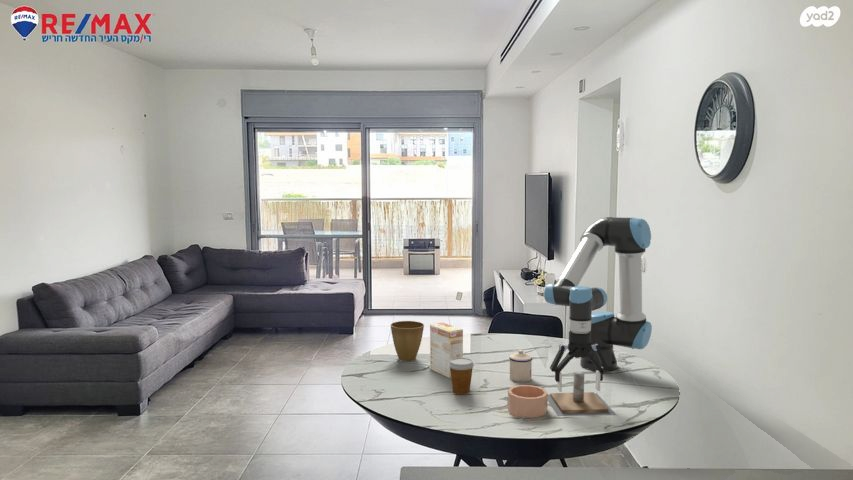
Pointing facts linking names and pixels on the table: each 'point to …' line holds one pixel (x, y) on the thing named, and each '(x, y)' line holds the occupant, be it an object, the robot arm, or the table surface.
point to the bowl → (527, 401)
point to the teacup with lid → (520, 366)
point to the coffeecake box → (444, 347)
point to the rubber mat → (578, 413)
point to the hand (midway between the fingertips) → (578, 390)
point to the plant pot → (407, 339)
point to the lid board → (579, 407)
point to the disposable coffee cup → (461, 375)
